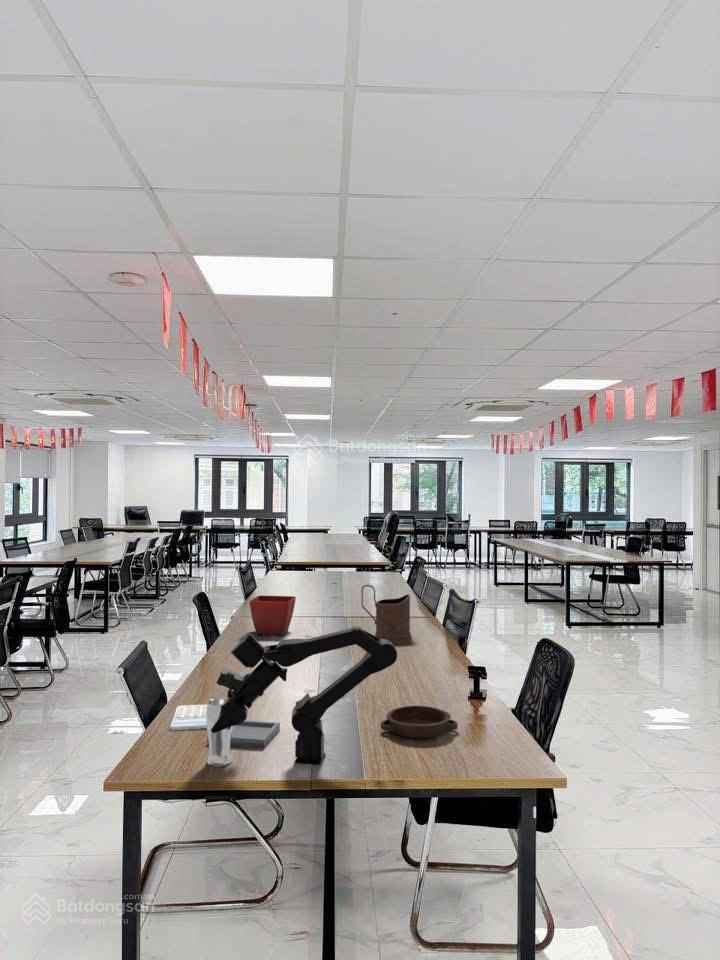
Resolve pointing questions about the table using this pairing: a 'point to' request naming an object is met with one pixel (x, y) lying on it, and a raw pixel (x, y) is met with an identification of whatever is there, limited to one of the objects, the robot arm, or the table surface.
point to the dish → (418, 722)
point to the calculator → (189, 717)
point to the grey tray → (254, 733)
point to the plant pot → (272, 614)
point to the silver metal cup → (218, 735)
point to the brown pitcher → (392, 618)
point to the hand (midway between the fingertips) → (214, 725)
